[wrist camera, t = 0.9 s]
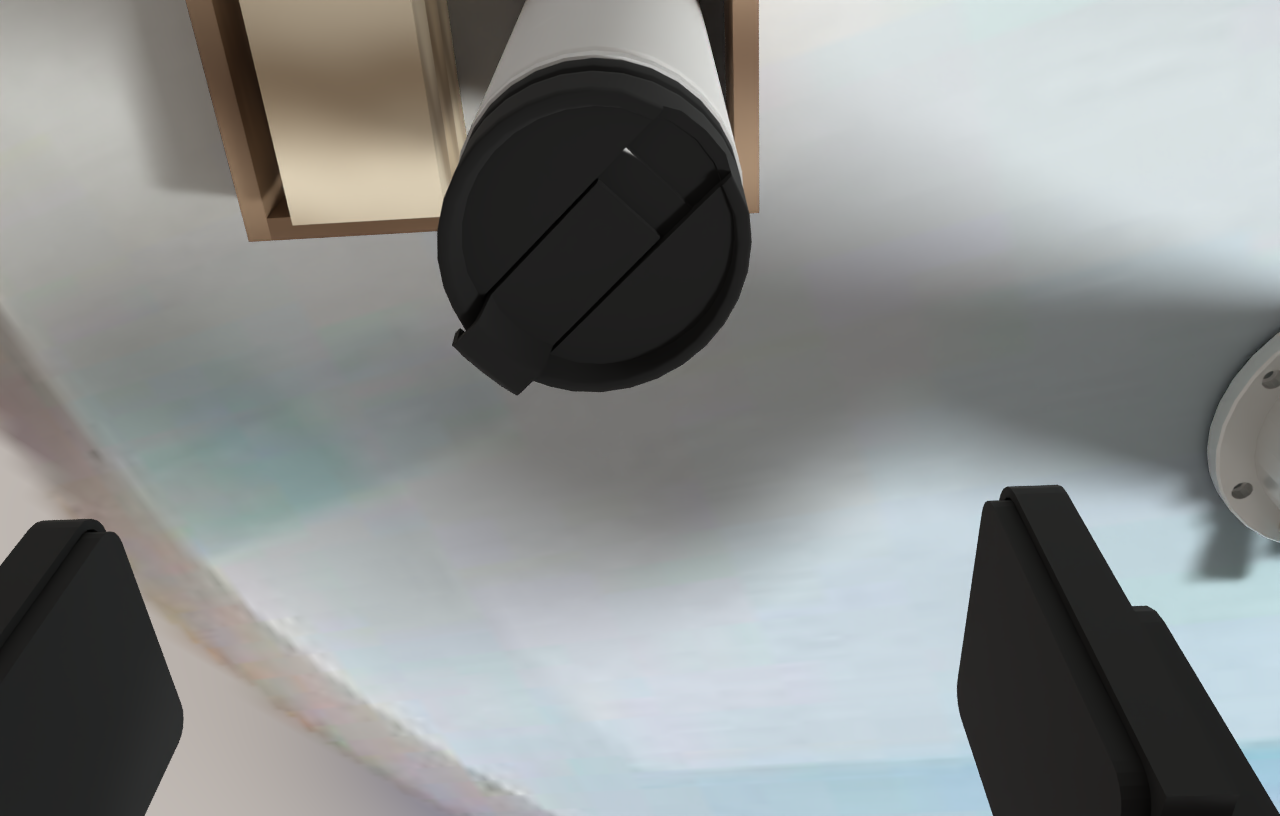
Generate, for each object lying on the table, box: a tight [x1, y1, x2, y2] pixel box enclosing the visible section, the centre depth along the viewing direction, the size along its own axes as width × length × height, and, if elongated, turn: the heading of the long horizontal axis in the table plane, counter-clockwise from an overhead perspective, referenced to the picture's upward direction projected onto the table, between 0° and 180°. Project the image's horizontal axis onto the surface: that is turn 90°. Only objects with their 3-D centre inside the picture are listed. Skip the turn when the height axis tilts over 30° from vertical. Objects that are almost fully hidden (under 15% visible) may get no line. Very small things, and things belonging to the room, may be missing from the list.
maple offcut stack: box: [239, 0, 467, 225], centre depth 36 cm, size 8×5×6 cm, turn 3°
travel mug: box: [437, 0, 752, 395], centre depth 29 cm, size 6×7×20 cm
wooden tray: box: [186, 0, 759, 242], centre depth 36 cm, size 11×18×4 cm, turn 93°
